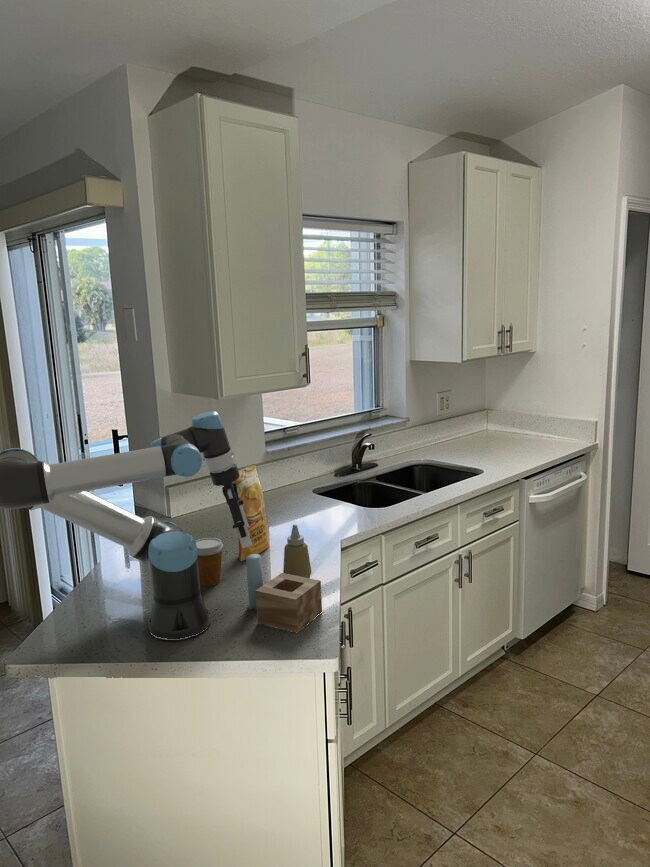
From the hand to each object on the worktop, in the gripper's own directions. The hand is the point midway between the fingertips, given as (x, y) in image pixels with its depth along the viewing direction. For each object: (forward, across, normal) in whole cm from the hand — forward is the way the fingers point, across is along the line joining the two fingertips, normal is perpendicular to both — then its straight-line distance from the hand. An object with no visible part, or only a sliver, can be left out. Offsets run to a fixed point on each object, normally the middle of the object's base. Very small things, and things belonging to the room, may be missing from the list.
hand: (245, 536), depth 188 cm
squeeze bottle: (+19, -1, -10) cm, 21 cm away
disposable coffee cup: (+13, +8, +15) cm, 21 cm away
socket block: (+16, -21, -5) cm, 27 cm away
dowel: (+15, -12, +2) cm, 19 cm away
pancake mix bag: (+18, +28, +1) cm, 33 cm away
